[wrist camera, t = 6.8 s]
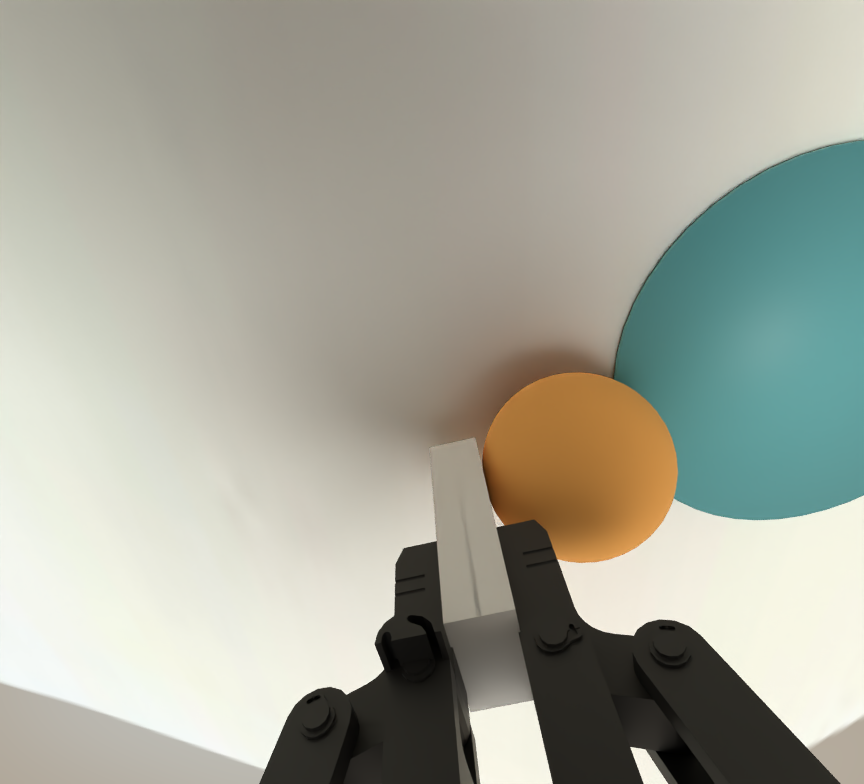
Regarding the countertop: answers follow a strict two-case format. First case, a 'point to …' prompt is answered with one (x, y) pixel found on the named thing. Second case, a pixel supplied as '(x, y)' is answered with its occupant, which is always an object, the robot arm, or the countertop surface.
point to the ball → (581, 465)
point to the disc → (762, 342)
